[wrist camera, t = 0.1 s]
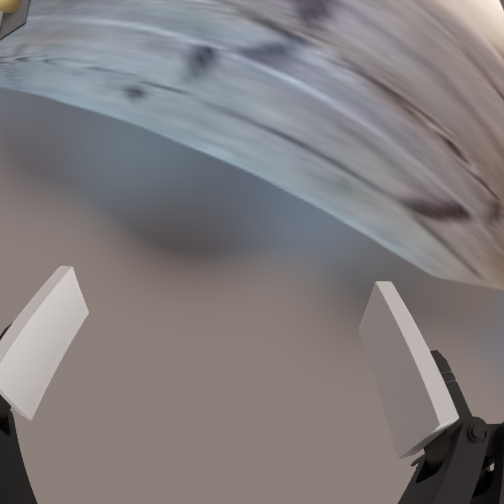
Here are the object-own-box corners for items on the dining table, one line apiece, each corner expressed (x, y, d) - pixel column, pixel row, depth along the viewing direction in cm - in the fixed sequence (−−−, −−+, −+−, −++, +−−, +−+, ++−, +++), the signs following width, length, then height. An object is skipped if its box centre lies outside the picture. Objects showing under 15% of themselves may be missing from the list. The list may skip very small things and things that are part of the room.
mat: (10, -8, 14) (9, -8, 14) (37, -25, 14) (35, -26, 14) (0, 39, 20) (-1, 39, 20) (25, 23, 20) (23, 23, 20)
